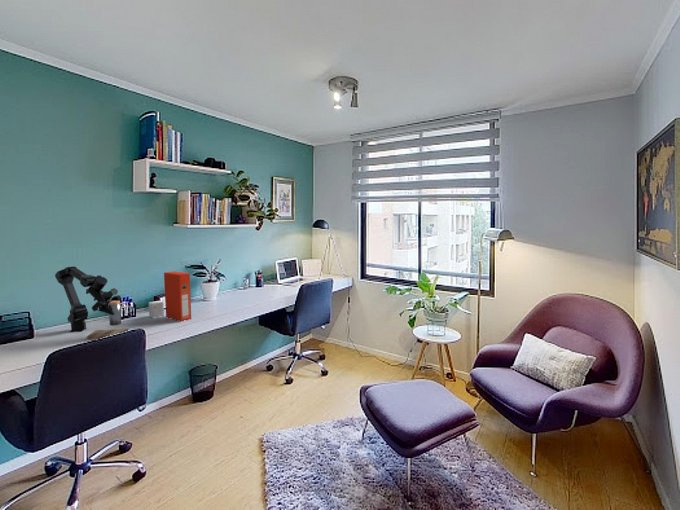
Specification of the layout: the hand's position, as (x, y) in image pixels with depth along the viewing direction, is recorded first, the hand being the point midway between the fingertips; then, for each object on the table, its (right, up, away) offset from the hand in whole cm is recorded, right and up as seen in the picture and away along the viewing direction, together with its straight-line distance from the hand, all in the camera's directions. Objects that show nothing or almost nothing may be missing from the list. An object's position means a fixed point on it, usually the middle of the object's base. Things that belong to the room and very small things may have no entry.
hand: (117, 313), depth 213 cm
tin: (-1, -7, +1) cm, 7 cm away
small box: (+2, -9, +42) cm, 43 cm away
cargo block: (-1, +5, 0) cm, 5 cm away
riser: (-5, -13, 0) cm, 14 cm away
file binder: (+19, -10, +38) cm, 44 cm away
